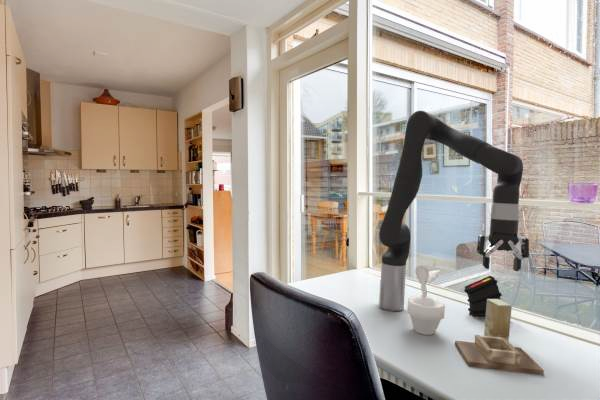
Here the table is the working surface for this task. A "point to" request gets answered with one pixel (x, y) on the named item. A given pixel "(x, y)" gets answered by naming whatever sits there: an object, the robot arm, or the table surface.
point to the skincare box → (497, 319)
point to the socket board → (497, 355)
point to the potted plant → (425, 304)
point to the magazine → (481, 295)
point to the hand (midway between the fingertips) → (501, 269)
